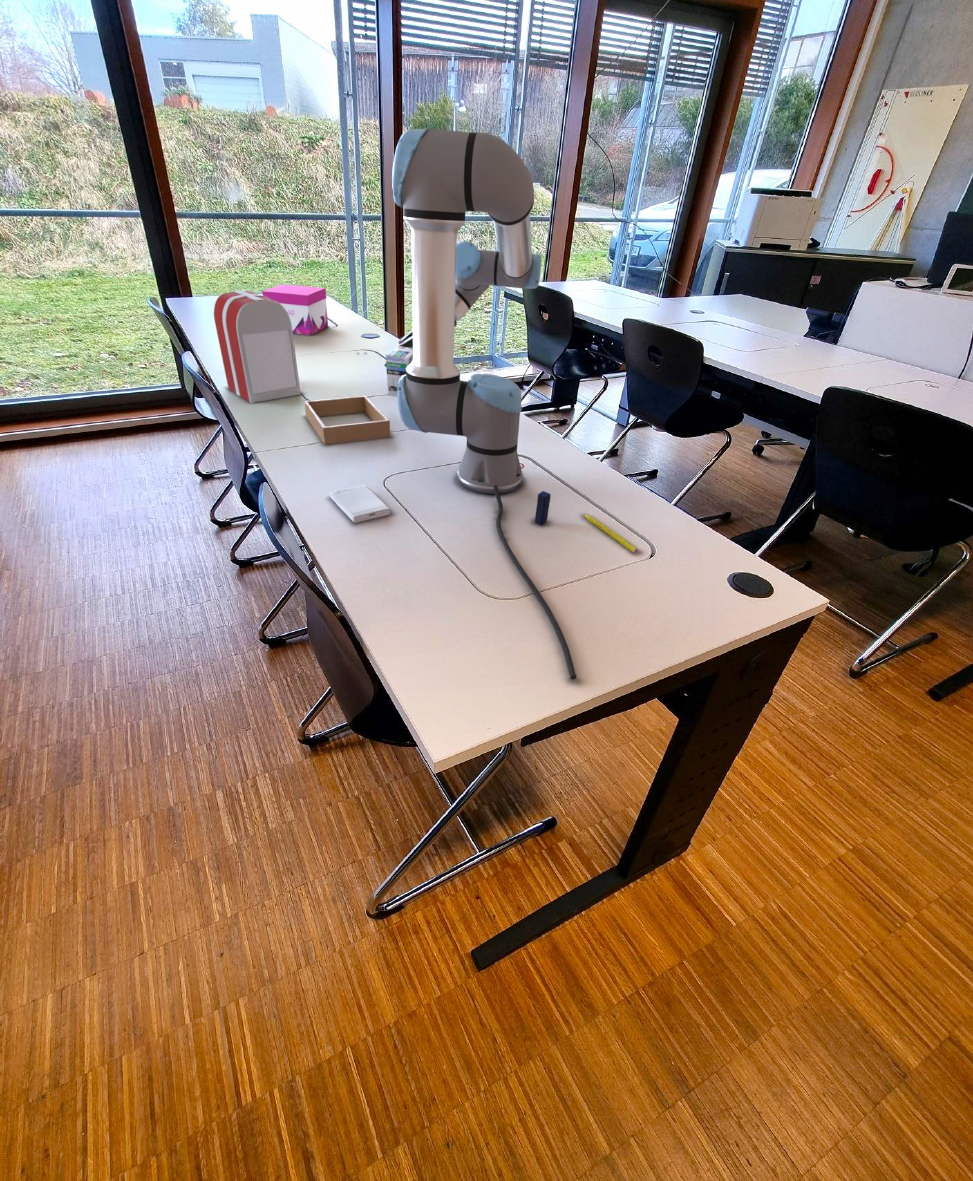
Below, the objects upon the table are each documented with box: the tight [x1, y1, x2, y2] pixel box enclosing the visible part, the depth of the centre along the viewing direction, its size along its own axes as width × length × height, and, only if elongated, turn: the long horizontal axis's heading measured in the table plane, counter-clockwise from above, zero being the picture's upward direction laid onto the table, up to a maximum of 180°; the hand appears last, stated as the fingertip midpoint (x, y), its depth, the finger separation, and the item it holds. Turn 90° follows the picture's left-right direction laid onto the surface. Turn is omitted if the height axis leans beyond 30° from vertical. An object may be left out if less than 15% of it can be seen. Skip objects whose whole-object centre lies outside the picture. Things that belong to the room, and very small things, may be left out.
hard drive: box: [329, 484, 391, 524], centre depth 123 cm, size 2×8×12 cm
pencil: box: [584, 514, 639, 554], centre depth 120 cm, size 16×1×1 cm, turn 30°
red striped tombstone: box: [213, 289, 302, 404], centre depth 173 cm, size 17×18×27 cm
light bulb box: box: [385, 345, 413, 398], centre depth 159 cm, size 11×7×11 cm, turn 169°
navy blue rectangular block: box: [534, 490, 551, 526], centre depth 120 cm, size 2×2×7 cm
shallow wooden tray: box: [303, 395, 391, 446], centre depth 159 cm, size 22×18×4 cm
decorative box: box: [261, 283, 329, 336], centre depth 245 cm, size 19×19×15 cm
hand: (395, 375), depth 159 cm, fingers closed on light bulb box, 12 cm apart
